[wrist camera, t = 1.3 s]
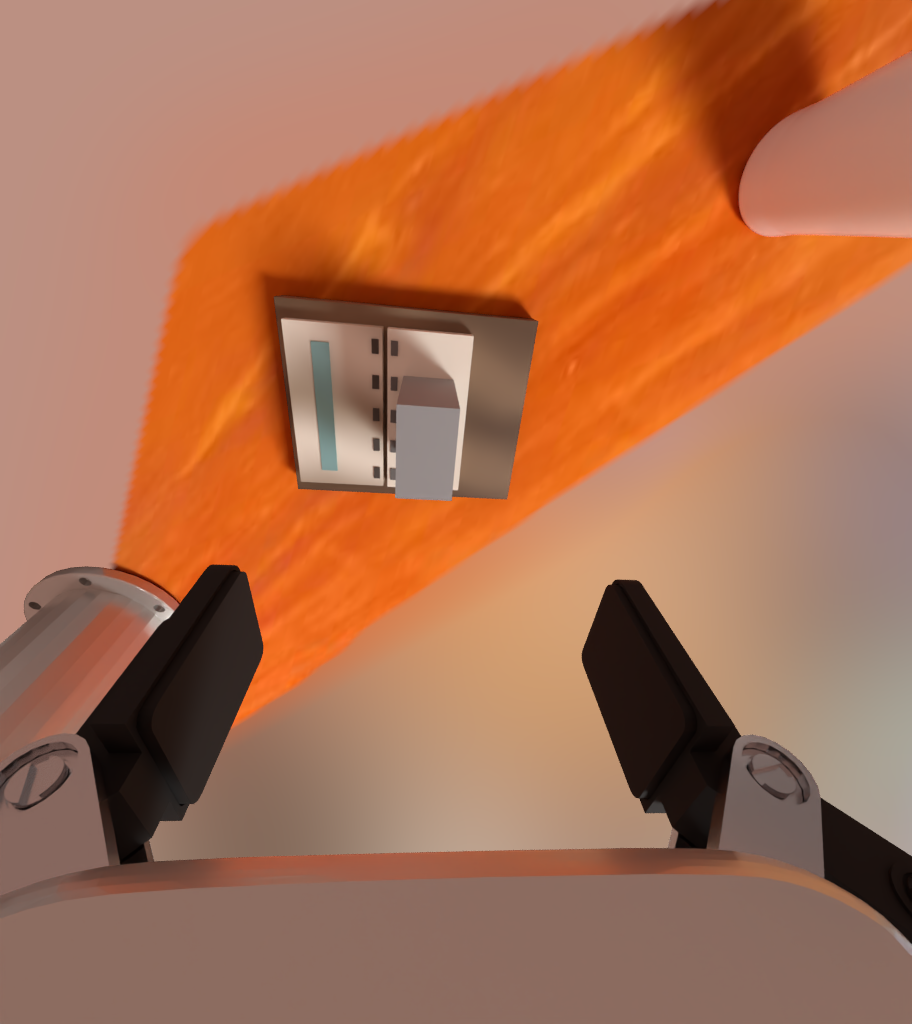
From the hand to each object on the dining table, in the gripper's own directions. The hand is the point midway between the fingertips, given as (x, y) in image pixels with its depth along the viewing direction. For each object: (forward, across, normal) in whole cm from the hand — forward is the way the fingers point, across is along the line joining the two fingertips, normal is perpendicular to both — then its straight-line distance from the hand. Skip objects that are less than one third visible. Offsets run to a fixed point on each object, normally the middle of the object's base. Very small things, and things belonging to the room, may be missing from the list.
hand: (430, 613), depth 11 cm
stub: (+18, 0, 0) cm, 18 cm away
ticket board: (+19, +2, 0) cm, 19 cm away
